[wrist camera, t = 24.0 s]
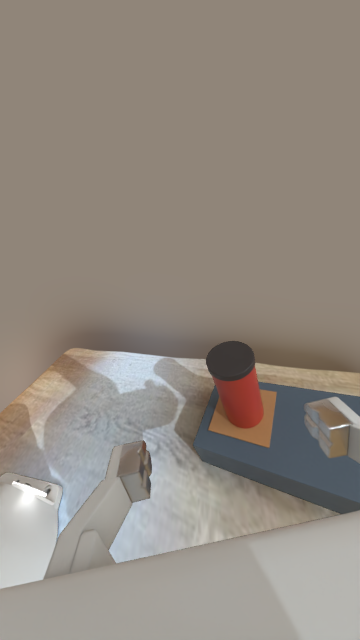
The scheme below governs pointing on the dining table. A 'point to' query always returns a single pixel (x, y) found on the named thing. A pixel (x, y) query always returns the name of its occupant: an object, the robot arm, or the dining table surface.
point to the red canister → (236, 382)
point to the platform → (282, 448)
